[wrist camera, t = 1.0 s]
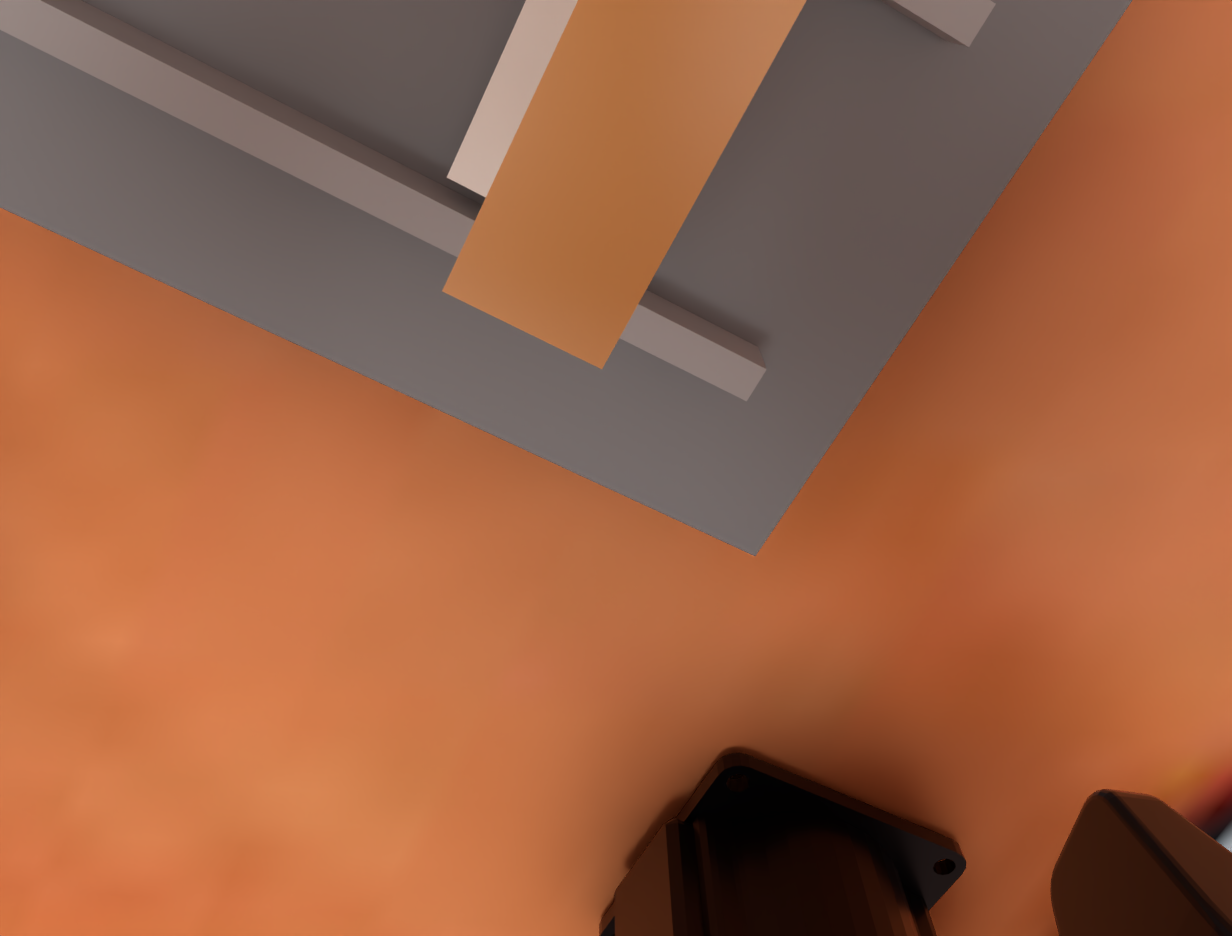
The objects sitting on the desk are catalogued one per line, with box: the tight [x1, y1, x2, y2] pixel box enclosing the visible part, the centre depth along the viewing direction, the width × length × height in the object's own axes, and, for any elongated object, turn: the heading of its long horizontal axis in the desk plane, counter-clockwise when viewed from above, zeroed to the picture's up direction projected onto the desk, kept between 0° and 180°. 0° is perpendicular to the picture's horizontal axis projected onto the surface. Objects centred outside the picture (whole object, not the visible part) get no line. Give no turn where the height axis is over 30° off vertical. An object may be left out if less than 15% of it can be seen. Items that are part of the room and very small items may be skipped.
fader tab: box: [442, 0, 807, 369], centre depth 12 cm, size 3×4×6 cm
